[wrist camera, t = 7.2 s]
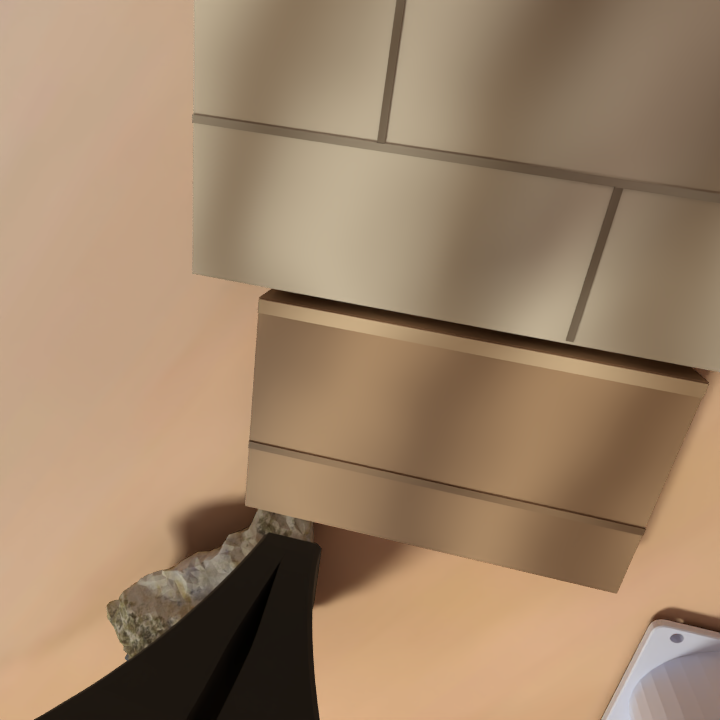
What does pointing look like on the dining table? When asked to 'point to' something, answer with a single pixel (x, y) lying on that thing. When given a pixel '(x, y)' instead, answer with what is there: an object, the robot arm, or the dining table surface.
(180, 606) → the rock
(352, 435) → the plank
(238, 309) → the dining table surface
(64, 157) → the dining table surface
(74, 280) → the dining table surface
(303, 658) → the robot arm
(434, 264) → the beige grooved panel
